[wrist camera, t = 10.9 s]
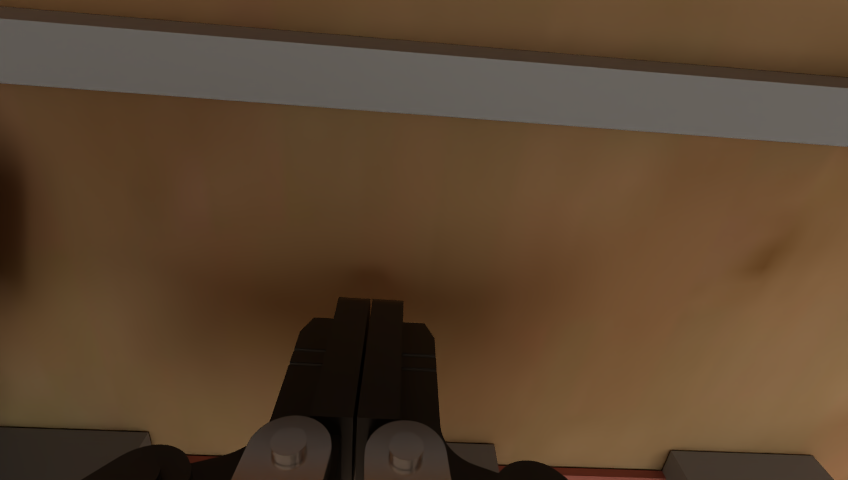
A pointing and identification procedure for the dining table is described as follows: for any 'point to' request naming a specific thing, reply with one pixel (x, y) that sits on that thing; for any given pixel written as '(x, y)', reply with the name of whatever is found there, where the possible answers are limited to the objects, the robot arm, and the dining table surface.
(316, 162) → the dining table surface
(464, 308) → the dining table surface
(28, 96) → the dining table surface
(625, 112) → the channel
